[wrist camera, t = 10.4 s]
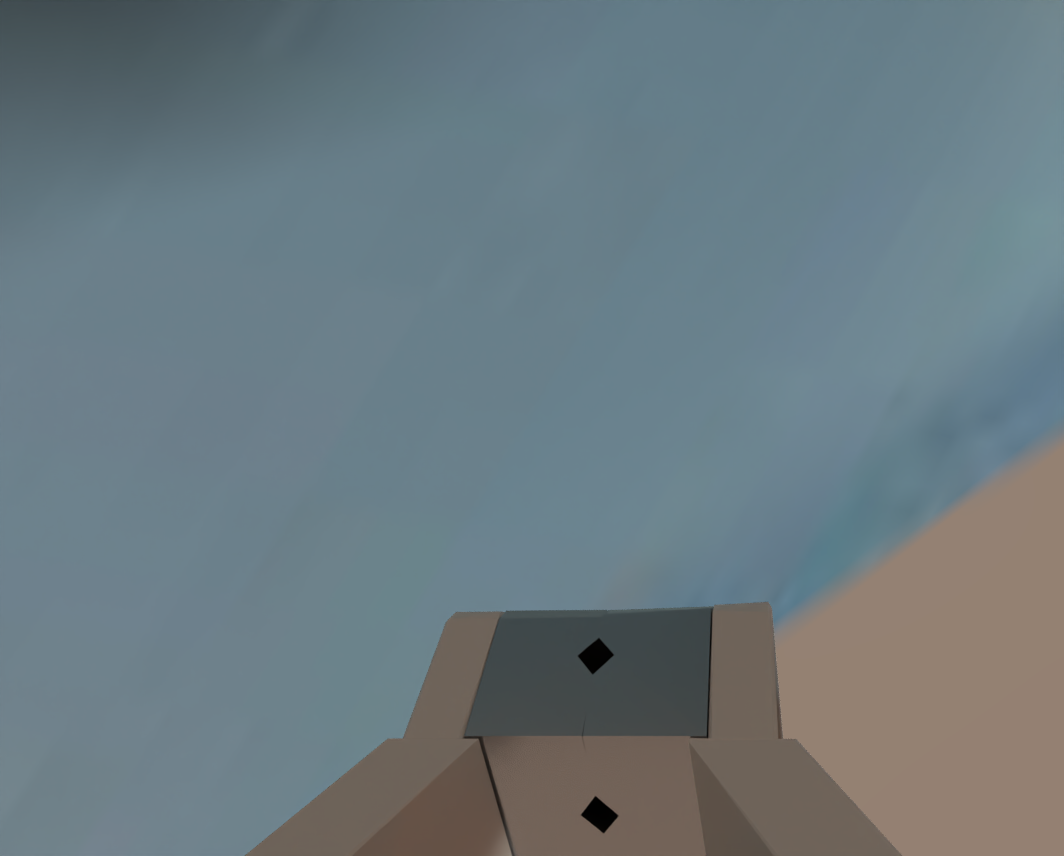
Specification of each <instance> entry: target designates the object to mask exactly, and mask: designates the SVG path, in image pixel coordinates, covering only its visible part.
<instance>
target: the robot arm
mask: <svg viewBox="0 0 1064 856" xmlns="http://www.w3.org/2000/svg"><path fill="white" fill-rule="evenodd" d="M781 721H782V720H781V709H780V697H779V685H778V674H777V663H776V651H775V639H774V628H773V616H772V608H771V606H770V604H769V603H768V602H760V603H741V604H723V605H714V606H709V607H682V608H655V609H628V610H608V611H607V610H539V611H506V612H456V613H455V614H454V615H453V616H451V617H450V618H449V619H448V621H447V622H446V624H445V626H444V629H443V632H442V634H441V637H440V640H439V642H438V645H437V648H436V650H435V653H434V656H433V659H432V661H431V664H430V667H429V669H428V672H427V675H426V677H425V680H424V683H423V685H422V688H421V691H420V693H419V696H418V699H417V702H416V704H415V707H414V710H413V712H412V715H411V718H410V720H409V723H408V726H407V728H406V731H405V734H404V737H403V739H387V740H386V741H384V742H383V743H382V744H381V745H380V746H378V747H377V748H376V749H375V750H373V751H372V752H371V753H370V754H369V755H367V756H366V757H365V758H364V759H362V760H361V761H360V762H359V763H358V764H356V765H355V766H354V767H353V768H351V769H350V770H349V771H348V772H347V773H345V774H344V775H343V776H342V777H340V778H339V779H338V780H337V781H336V782H334V783H333V784H332V785H331V786H329V787H328V788H327V789H326V790H325V791H323V792H322V793H321V794H320V795H318V796H317V797H316V798H315V799H314V800H312V801H311V802H310V803H309V804H307V805H306V806H305V807H304V808H303V809H301V810H300V811H299V812H298V813H296V814H295V815H294V816H293V817H292V818H290V819H289V820H288V821H287V822H285V823H284V824H283V825H282V826H281V827H279V828H278V829H277V830H276V831H274V832H273V833H272V834H271V835H270V836H268V837H267V838H266V839H265V840H263V841H262V842H261V843H260V844H259V845H257V846H256V847H255V848H254V849H252V850H251V851H250V852H249V853H248V854H246V855H245V856H902V855H901V854H900V853H899V852H898V850H896V848H895V847H894V846H893V845H892V844H891V843H890V842H889V841H888V840H887V838H886V837H885V836H884V835H883V834H882V833H881V832H880V831H879V830H878V829H877V827H876V826H875V825H874V824H873V823H872V822H871V821H870V820H869V819H868V817H867V816H866V815H865V814H864V813H863V812H862V811H861V810H860V809H859V808H858V807H857V806H856V804H855V803H854V802H853V801H852V800H851V799H850V798H849V797H848V796H847V794H846V793H845V792H844V791H843V790H842V789H841V788H840V787H839V786H838V784H836V782H835V781H834V780H833V779H832V778H831V777H830V776H829V775H828V773H826V772H825V770H824V769H823V768H822V767H821V766H820V765H819V764H818V763H817V762H816V760H815V759H814V758H813V757H812V756H811V755H810V754H809V753H808V752H807V750H806V749H805V748H804V747H803V746H802V745H801V744H800V743H799V742H798V741H797V740H796V739H783V732H782V722H781Z"/></svg>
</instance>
